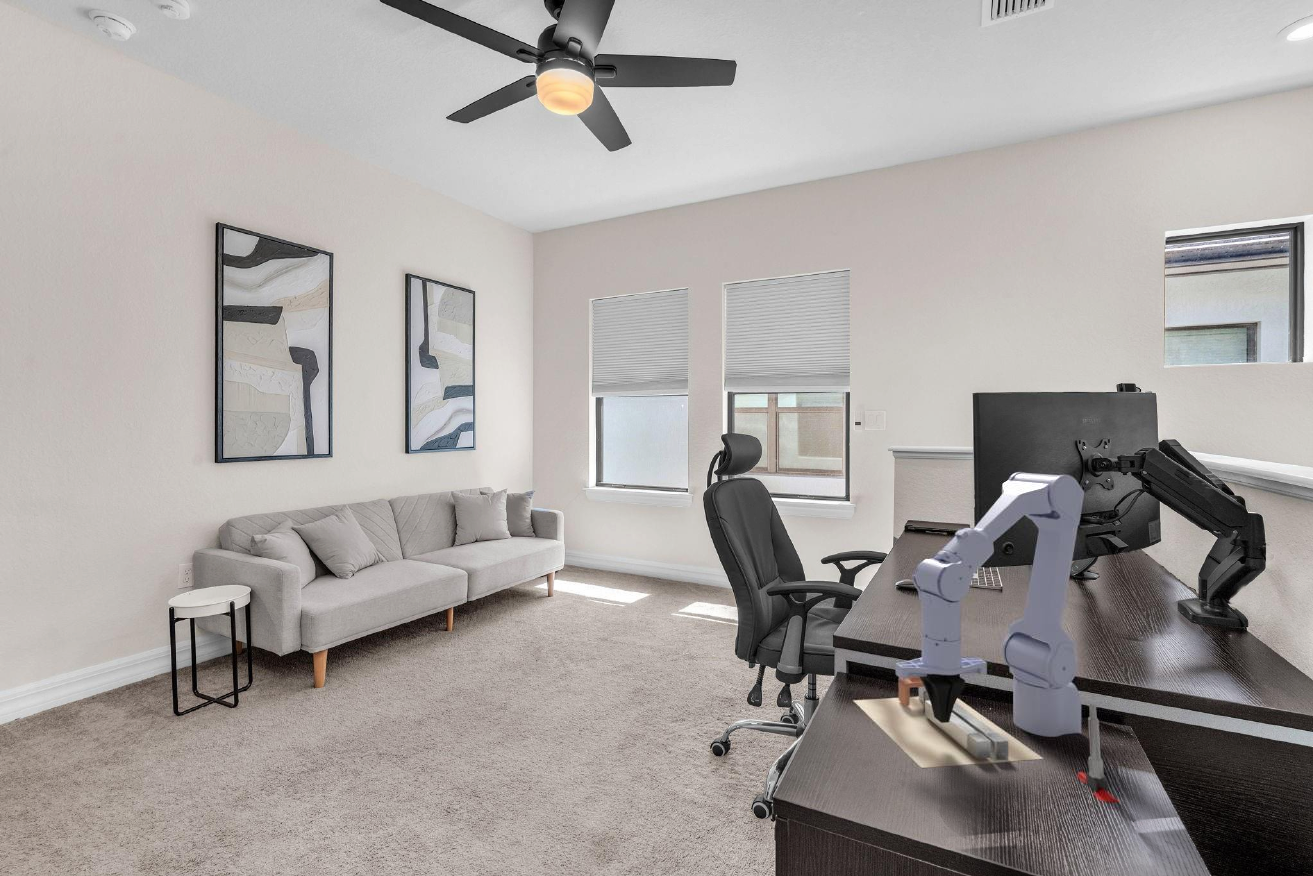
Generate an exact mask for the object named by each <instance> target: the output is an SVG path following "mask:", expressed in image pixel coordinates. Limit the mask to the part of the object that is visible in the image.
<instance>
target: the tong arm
mask: <svg viewBox="0 0 1313 876" xmlns="http://www.w3.org/2000/svg"><path fill="white" fill-rule="evenodd" d="M925 716H926V717H927V718H929V719H930V720H931V721H932V722H933V723H935V724H936V725H937V726H938V727H940V728H941V729H942V730H943V731H944V732H946V733H947V734H948V735H949V736H950V737H952V738H953V739H954V740H955V741H956V742H958V743H959V744H960V745H961V746H962V747H964V748H965V749H966V750H967V751H968V752H970V753H971V754H972V755H973V756H974V757H976V758H977V759H985V758H991V741H990V740H988V739H987V738H986V737H985V736H983V735H982V734H981V733H978V732H977V731H976V730H974V729H973V728H972V727H970V726H969V725H968V724H966V723H965V722H964V721H963V720H961V719H960V718H959V717H957V716H956V715H955V714H953V713H951V717H950V720H949V722H947V723H941V722H940V721H938V720H937V719H936V718H935V717H934V713H933V709H932V705H931V702H930V700H929V701H925Z"/></svg>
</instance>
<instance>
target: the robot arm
mask: <svg viewBox="0 0 1313 876" xmlns="http://www.w3.org/2000/svg"><path fill="white" fill-rule="evenodd" d="M1001 485H1002V486H1001V495H1000V497H999V498H998V499H997V500H996V501H995V502H994V504H993V505H992V506H991V507H990V508H989V509H988V511H987V512H986V513H985V515H984V516H983V517H981V519H980V521H978V522H977V524H976V525H975V527H973V528H970V527H965V528H962V529H958V530H957V531H956V532H955V533H954V537H953V538H952V539H950V541H949V542H948V543H947V544H946V545H945V546H944V547H943V548H942V549H941V550H939V551H938V552H937V554H936V555H935V556H934V557H933V558H930V557H929V559H928V558H926V559H924V560H923V561H921V562H920V563H919V564H918V565H917V566H916V568H915V571H914V574H913V575H911V577H912V582H913V585H914V587H915V588H916V590H917V593H918V600H919V603H920V604H921V605H920V608H921V609H920V610H921V614H920V615H921V617H920V618H921V621H920V623H921V627H920V628H921V657H919V658H913V659H911V660H907V661H902V662H895V675H896V677H898V679H899V678H901V679H902V680H904V679H908V677H920V679H921V681H922V683H923V685H924V687H925V689H926V691H927V693H928V696H929V699H930V702H931V705H932V709H933V713H934V717H935V718H936V719H937V720H938V721H940V722H941V723H947V722H949V720H950V717H951V713H952V710H953V707H954V704H955V702H956V699H957V698H958V697H959V695H960V694H961V693H962V691H963V690H964V689H965V687H966V680H965V679H964V678H963V677H961V675H966V674H980V675H988V673H987V672H988V668H987V667H988V665H987V664H988V662H987V661H984V660H983V659H981V658H979V657H962V626H961V625H962V622H961V621H962V617H961V616H962V615H961V614H962V613H961V612H962V611H961V609H962V608H961V607H962V606H961V603H962V602H961V600H962V599H963V598H964V597H966V596H967V595H968V593H969V590H970V587H971V581H972V580H974V574H975V573H976V572H977V571H978V570H979V569H980V568H981V567H982V566H983V565H984V564H985V563H986V562H987V561H988V559H990V558H991V556H992V555H993V554H994V552H995V548H994V542H995V541H996V540H997V539H998V538H1000V537H1001V536H1002V535H1003V534H1005V532H1007V531H1008V530H1009V529H1010V528H1011V527H1012V526H1014V525H1015V524H1016V523H1017V522H1018V521H1019V520H1021V518H1023V517H1024V516H1025V517H1027V518H1028V519H1029V520H1031V521H1032V522H1033V523H1034V525H1035V526H1036V527H1037V529H1038V533H1037V541H1036V546H1035V553H1034V557H1033V564H1032V569H1031V575H1030V581H1029V587H1028V593H1027V598H1026V605H1025V609H1024V617H1023V618H1021V619H1019V620H1016V621H1015V622H1013V623H1011V624H1009V625H1010V626H1009V630H1008V633H1007V635H1006V637H1005V639H1004V641H1003V643H1002V644H1001V645H1002V646H1001V656H1002V659H1003V662H1004V663H1005V664H1006V665H1007V666H1008V667H1009V673H1010V674H1012V675H1013V677H1012V678H1013V680H1012V681H1013V682H1012V683H1013V685H1012V686H1013V691H1012V693H1013V698H1012V699H1013V704H1012V706H1013V708H1012V709H1013V711H1012V713H1013V714H1012V715H1013V720H1012V722H1013V725H1015V726H1017V728H1019V729H1020V730H1022V731H1024V732H1027V733H1030V734H1033V735H1036V736H1040V737H1041V736H1042V737H1060V736H1062V735H1068V734H1080V735H1081V734H1082V699H1081V695H1080V692H1079V690H1078V688H1077V687H1076V685H1075V684H1074V683H1073V680H1074V678H1075V677H1076V674H1077V668H1078V667H1077V660H1076V648H1077V647H1076V646H1077V644H1076V643H1075V641H1074V640H1073V639H1072V638H1071V637H1070V635H1069V634H1068V633H1067V632H1066V631H1065V630H1064V629H1063V627H1062V625H1063V618H1064V612H1065V605H1066V600H1067V599H1066V598H1067V596H1068V594H1067V593H1068V588H1069V583H1070V582H1069V581H1070V576H1071V570H1072V563H1073V558H1074V552H1075V551H1074V550H1075V545H1076V540H1077V533H1078V529H1079V527H1078V526H1080V521H1081V514H1082V509H1083V508H1082V507H1083V504H1084V503H1083V502H1084V497H1085V491H1084V490H1083V488H1082V486H1081V485H1080V484H1079V482H1078V480H1076V478H1074V477H1073V476H1072V475H1069V474H1059V475H1058V474H1048V473H1047V474H1046V473H1045V474H1044V473H1032V472H1031V473H1029V472H1025V471H1024V472H1023V471H1018V472H1014V473H1012V474H1011V475H1010V476H1009V478H1008V480H1007V481H1005V482H1003V483H1002V484H1001ZM958 699H959V698H958Z"/></svg>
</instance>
